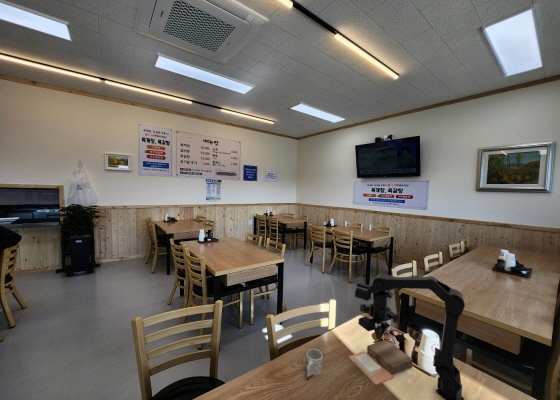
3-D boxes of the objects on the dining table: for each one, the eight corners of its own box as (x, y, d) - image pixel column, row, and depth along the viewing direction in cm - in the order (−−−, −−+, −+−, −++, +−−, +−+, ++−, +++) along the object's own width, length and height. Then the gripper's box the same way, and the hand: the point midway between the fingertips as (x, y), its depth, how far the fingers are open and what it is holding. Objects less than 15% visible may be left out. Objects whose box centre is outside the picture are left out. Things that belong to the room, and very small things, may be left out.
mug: (309, 361, 101) (310, 346, 101) (324, 367, 97) (324, 352, 97) (300, 376, 92) (300, 360, 92) (315, 384, 89) (316, 367, 89)
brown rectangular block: (412, 367, 99) (412, 359, 99) (392, 375, 94) (392, 367, 94) (385, 346, 112) (385, 339, 112) (367, 352, 107) (367, 345, 107)
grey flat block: (370, 371, 93) (370, 376, 93) (381, 367, 95) (380, 372, 95) (354, 356, 101) (354, 361, 101) (365, 353, 103) (365, 357, 103)
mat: (393, 377, 93) (393, 376, 93) (376, 385, 89) (376, 384, 89) (364, 351, 108) (364, 351, 108) (348, 357, 104) (348, 356, 104)
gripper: (380, 292, 110) (379, 324, 111) (350, 299, 103) (348, 332, 103) (401, 303, 100) (399, 338, 101) (369, 311, 92) (367, 348, 93)
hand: (378, 338), depth 100 cm, fingers closed
